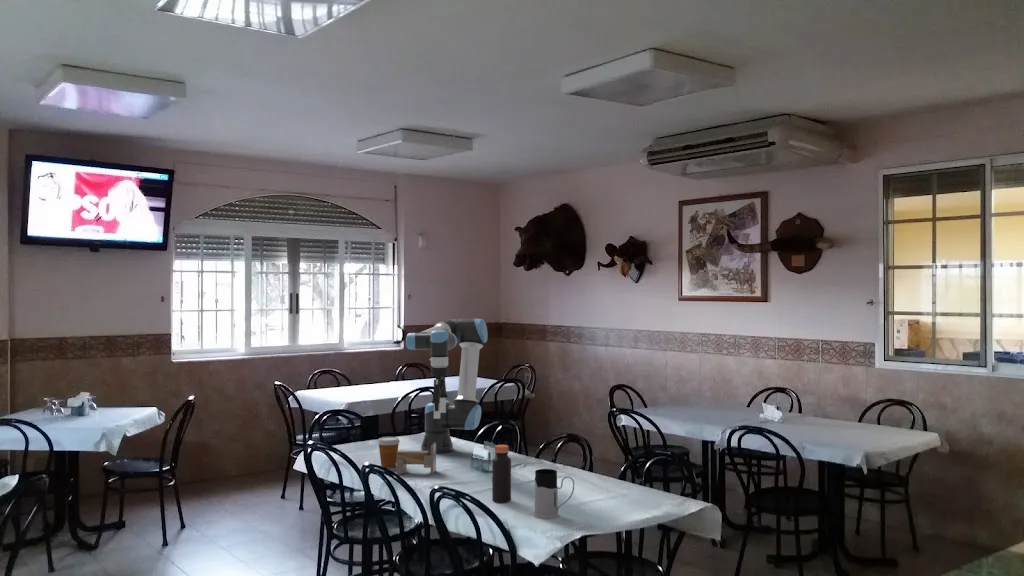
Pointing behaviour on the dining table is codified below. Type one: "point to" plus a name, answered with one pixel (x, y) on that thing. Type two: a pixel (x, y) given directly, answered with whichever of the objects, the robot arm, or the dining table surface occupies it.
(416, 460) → the rail
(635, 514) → the dining table surface
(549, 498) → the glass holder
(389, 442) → the disposable coffee cup
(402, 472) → the saddle
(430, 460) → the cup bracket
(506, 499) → the bottle
